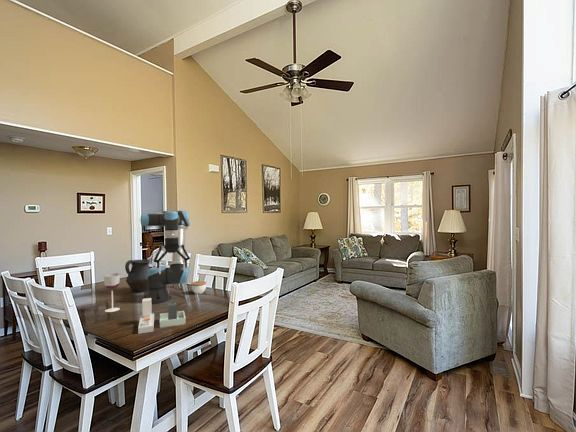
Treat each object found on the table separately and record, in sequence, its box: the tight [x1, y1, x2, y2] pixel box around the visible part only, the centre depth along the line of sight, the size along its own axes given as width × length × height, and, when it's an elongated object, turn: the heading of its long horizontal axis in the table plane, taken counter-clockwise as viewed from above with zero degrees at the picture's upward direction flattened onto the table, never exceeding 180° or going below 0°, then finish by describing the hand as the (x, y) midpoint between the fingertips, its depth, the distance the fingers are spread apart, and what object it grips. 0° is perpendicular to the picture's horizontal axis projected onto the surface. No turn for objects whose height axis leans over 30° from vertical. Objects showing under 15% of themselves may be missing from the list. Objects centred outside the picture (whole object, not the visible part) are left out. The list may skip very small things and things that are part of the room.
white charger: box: [141, 297, 153, 316], centre depth 169 cm, size 5×4×9 cm
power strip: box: [137, 313, 155, 335], centre depth 166 cm, size 26×7×4 cm, turn 23°
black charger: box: [167, 302, 178, 320], centre depth 168 cm, size 5×4×9 cm
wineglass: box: [103, 272, 121, 313], centre depth 189 cm, size 9×10×22 cm
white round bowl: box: [191, 280, 207, 295], centre depth 227 cm, size 11×11×9 cm
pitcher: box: [124, 259, 151, 294], centre depth 232 cm, size 21×22×25 cm
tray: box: [159, 310, 187, 329], centre depth 168 cm, size 13×13×4 cm
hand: (172, 272), depth 181 cm, fingers open, 13 cm apart
